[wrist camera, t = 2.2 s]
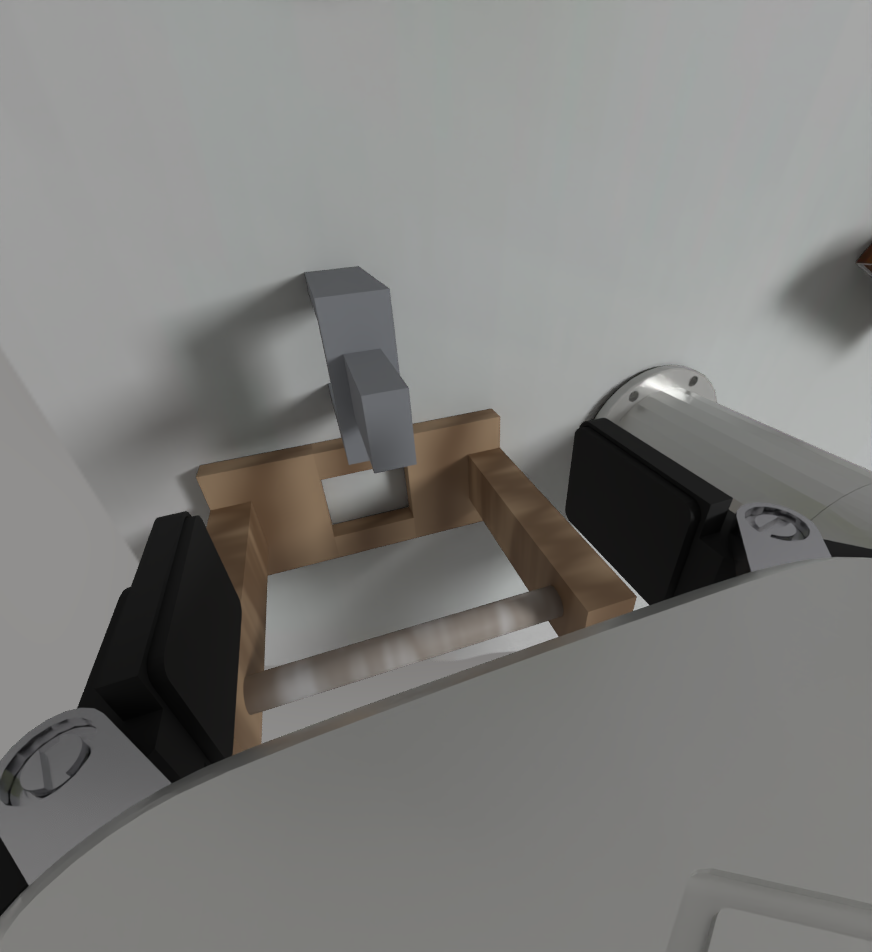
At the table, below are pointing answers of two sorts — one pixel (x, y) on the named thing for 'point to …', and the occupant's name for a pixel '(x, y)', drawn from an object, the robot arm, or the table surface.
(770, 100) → the table surface
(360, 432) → the stepped gray bar
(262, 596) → the rack
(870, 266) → the food container
